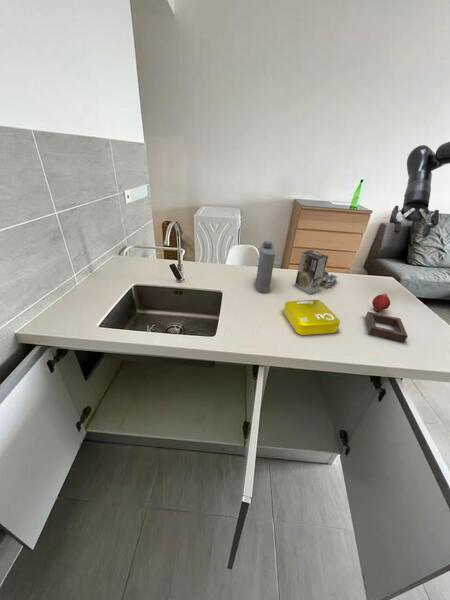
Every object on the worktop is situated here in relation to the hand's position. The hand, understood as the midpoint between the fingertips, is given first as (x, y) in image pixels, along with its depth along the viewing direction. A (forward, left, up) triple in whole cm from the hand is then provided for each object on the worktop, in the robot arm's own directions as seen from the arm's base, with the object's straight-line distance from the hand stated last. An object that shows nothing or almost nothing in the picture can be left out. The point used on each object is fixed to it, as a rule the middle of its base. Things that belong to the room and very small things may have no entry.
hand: (411, 234), depth 86 cm
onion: (+2, +7, -29) cm, 30 cm away
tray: (+2, +21, -29) cm, 35 cm away
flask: (+49, +7, -29) cm, 57 cm away
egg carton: (+22, -9, -29) cm, 37 cm away
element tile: (+27, +27, -29) cm, 48 cm away
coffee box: (+30, +1, -29) cm, 42 cm away
